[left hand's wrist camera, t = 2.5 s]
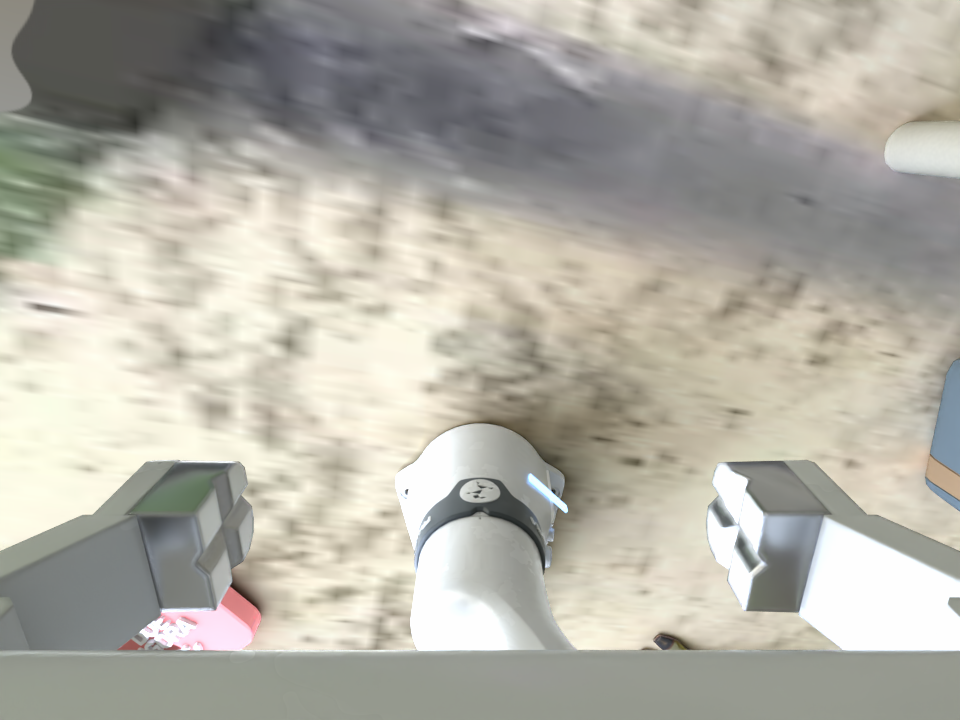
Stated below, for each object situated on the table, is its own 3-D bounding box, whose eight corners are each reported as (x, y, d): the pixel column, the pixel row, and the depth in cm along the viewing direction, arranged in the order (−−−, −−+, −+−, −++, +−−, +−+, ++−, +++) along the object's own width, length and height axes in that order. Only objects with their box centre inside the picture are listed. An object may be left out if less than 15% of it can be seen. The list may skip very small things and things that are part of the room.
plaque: (178, 721, 74) (81, 652, 70) (192, 693, 78) (100, 627, 74) (276, 653, 70) (178, 576, 66) (286, 628, 74) (194, 553, 70)
